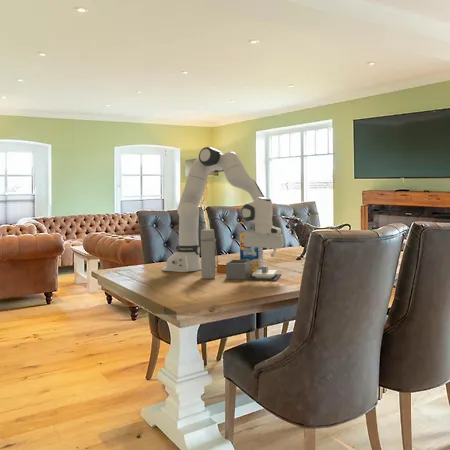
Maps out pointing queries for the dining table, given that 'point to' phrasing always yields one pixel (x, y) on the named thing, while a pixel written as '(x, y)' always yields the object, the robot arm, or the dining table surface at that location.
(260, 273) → the lid
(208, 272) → the water bottle
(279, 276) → the mat
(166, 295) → the dining table surface
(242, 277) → the storage box
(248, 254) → the beverage box
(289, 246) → the dining table surface
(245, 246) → the robot arm
